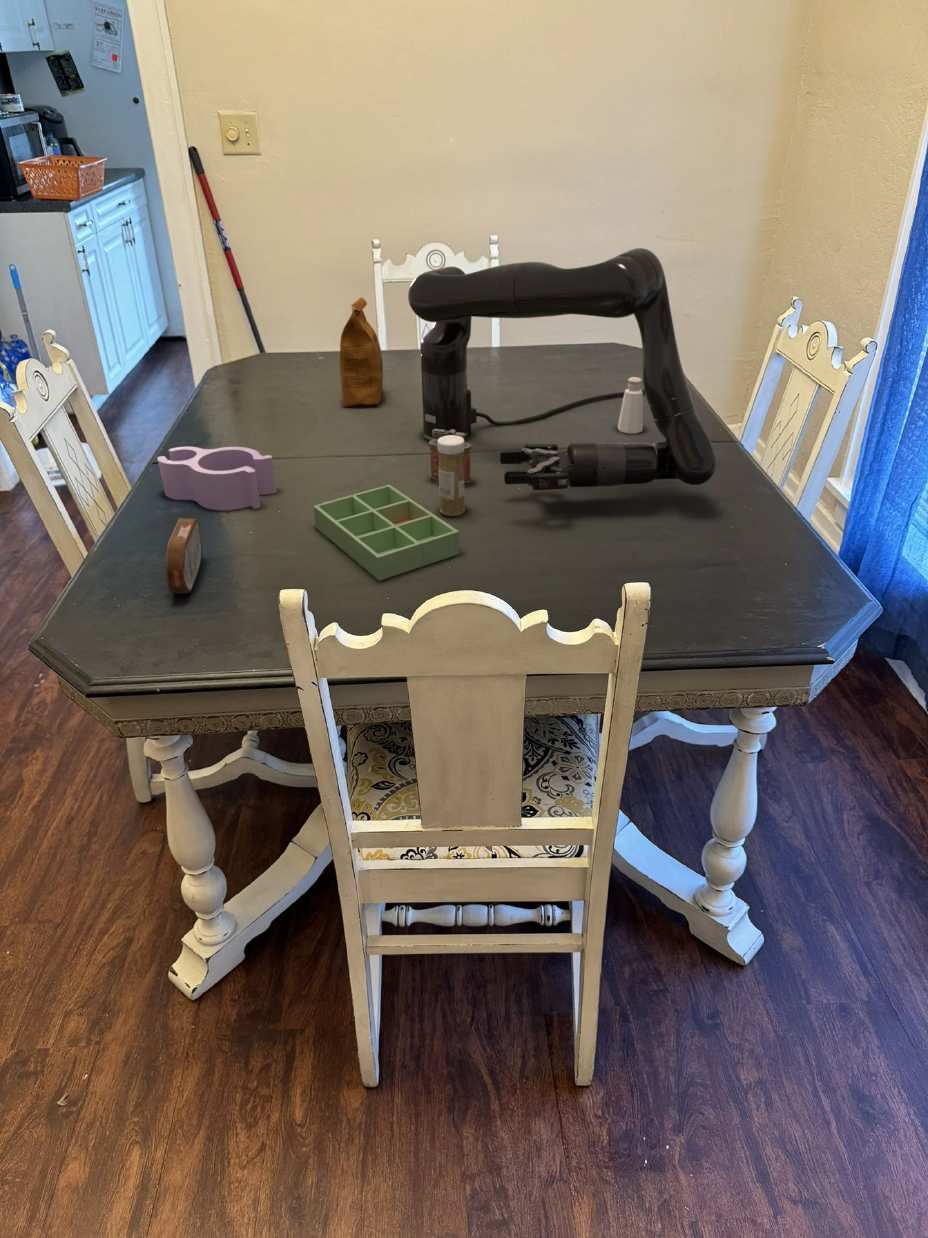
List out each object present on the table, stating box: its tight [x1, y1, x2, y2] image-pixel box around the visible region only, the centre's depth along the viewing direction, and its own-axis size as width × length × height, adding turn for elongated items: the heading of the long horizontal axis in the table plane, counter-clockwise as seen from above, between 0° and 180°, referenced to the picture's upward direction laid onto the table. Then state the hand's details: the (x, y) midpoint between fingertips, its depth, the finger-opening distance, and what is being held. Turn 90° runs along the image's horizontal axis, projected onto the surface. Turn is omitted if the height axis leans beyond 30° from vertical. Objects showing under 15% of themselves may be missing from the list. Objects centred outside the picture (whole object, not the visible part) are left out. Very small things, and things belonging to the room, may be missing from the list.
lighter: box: [428, 429, 472, 487], centre depth 161 cm, size 8×3×10 cm, turn 71°
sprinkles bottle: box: [437, 435, 466, 518], centre depth 149 cm, size 5×5×13 cm
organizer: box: [312, 484, 460, 581], centre depth 143 cm, size 15×22×4 cm
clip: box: [156, 446, 277, 511], centre depth 158 cm, size 20×12×7 cm, turn 75°
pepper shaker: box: [617, 376, 644, 435], centre depth 182 cm, size 5×5×11 cm
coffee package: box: [339, 297, 384, 407], centre depth 197 cm, size 10×12×22 cm
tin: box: [165, 517, 203, 595], centre depth 132 cm, size 15×3×8 cm, turn 5°
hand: (502, 467), depth 149 cm, fingers open, 8 cm apart
